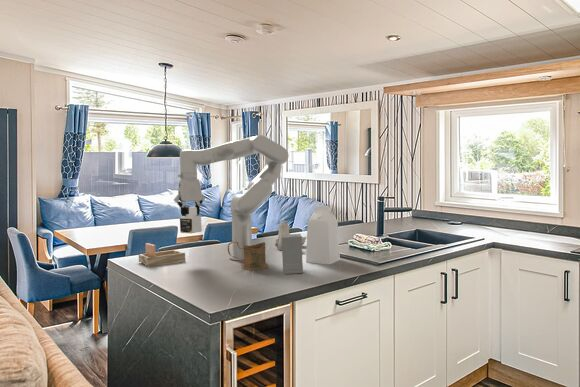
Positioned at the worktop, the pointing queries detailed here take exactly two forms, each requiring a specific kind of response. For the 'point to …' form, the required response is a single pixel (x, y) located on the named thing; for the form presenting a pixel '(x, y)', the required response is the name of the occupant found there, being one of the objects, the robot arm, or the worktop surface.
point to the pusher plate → (150, 250)
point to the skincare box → (292, 254)
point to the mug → (253, 256)
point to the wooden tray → (163, 258)
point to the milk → (322, 237)
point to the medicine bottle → (190, 221)
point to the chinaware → (284, 231)
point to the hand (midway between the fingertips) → (190, 214)
